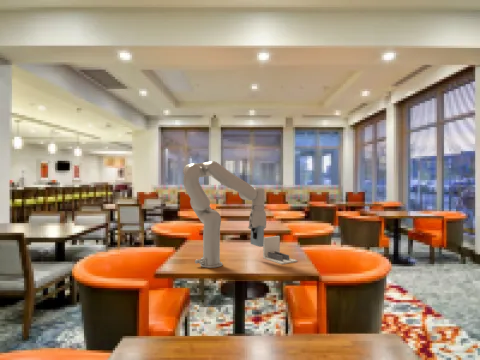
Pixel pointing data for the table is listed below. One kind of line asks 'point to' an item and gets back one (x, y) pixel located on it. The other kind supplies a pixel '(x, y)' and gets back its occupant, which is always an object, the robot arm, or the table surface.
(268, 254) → the cabinet base
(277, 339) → the table surface
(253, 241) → the door panel
